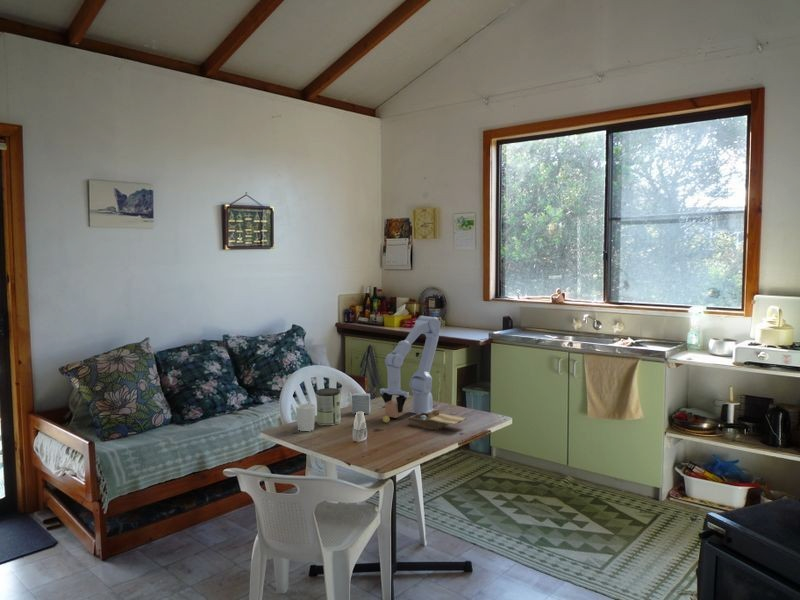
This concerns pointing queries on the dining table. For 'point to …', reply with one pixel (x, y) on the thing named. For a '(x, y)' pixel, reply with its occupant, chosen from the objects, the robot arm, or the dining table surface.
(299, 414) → the white cup
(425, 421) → the walnut box
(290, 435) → the dining table surface
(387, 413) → the tan cardboard cube
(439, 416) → the lid
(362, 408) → the medicine box
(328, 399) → the coffee can
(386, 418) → the mustard ball
